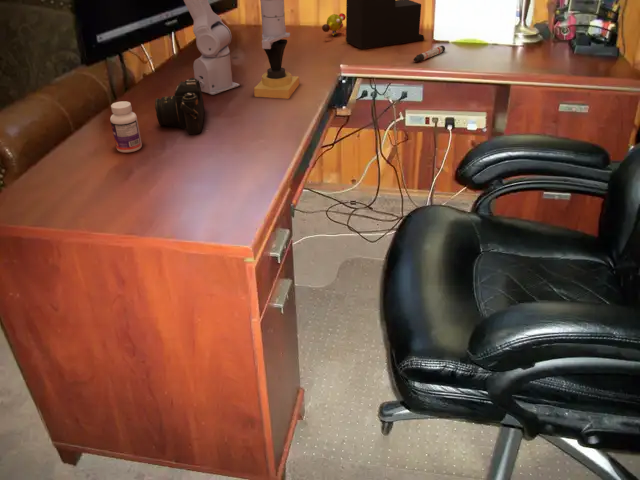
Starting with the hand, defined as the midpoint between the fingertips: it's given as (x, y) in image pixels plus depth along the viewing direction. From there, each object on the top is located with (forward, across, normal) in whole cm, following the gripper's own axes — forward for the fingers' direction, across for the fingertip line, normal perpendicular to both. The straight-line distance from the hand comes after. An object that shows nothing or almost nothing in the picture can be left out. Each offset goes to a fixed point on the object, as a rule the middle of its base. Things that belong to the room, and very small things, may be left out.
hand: (276, 69), depth 159 cm
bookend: (+6, +51, -21) cm, 56 cm away
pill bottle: (+6, -41, +21) cm, 46 cm away
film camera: (+6, -26, +15) cm, 31 cm away
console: (+6, 0, 0) cm, 6 cm away
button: (+2, 0, 0) cm, 2 cm away
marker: (+6, +36, -36) cm, 51 cm away
